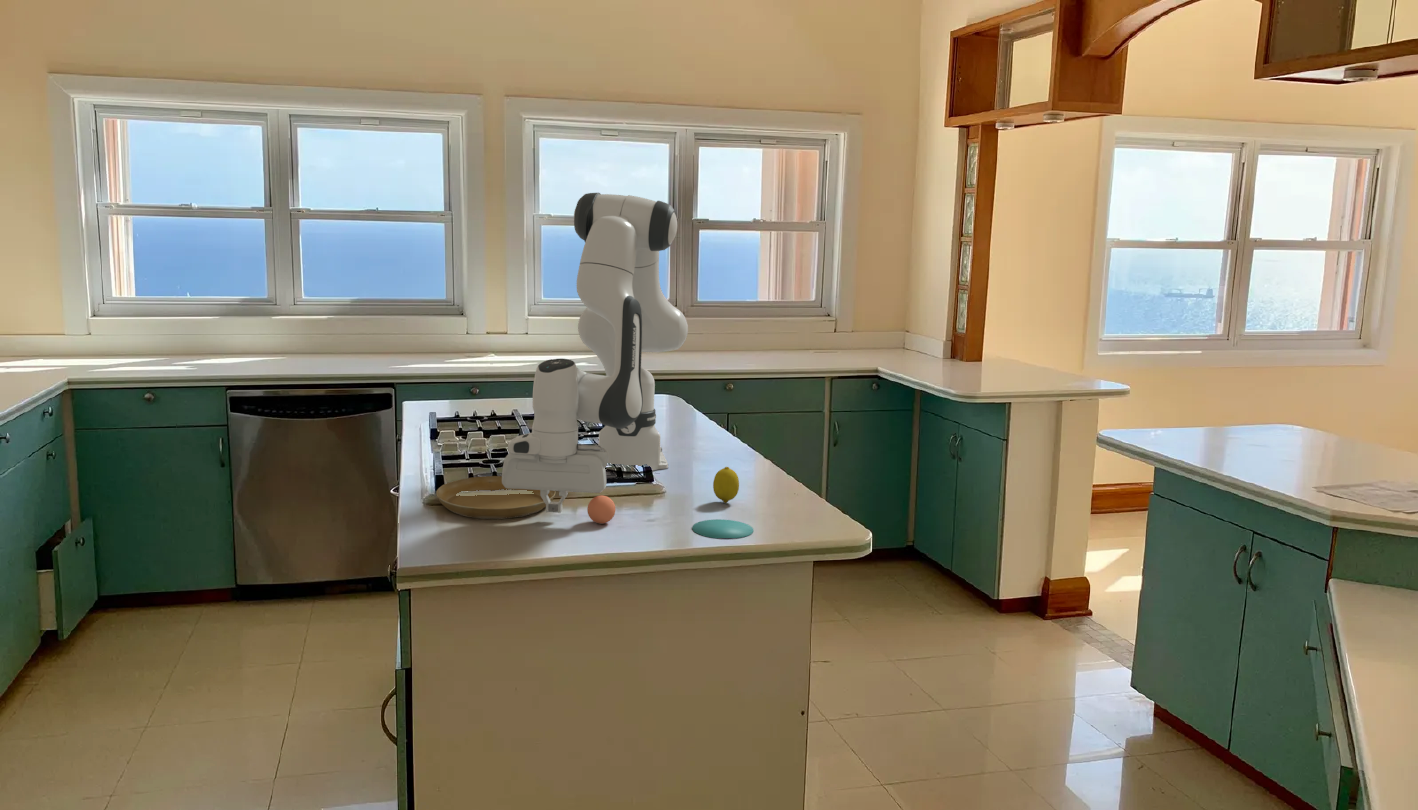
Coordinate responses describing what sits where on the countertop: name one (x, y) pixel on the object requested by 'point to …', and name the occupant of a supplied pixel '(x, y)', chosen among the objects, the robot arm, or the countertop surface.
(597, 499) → the ball
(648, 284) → the robot arm
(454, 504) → the plant saucer
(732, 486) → the lemon
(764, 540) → the countertop surface
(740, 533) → the disc
